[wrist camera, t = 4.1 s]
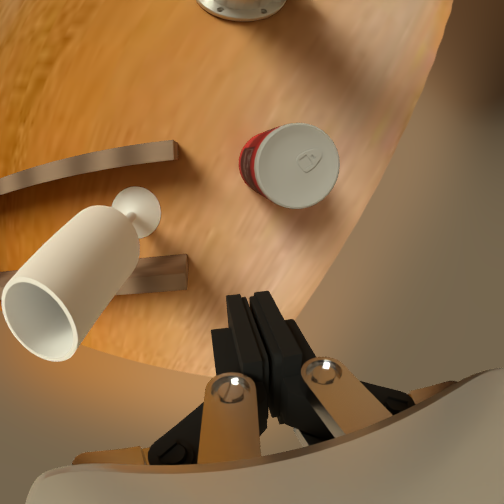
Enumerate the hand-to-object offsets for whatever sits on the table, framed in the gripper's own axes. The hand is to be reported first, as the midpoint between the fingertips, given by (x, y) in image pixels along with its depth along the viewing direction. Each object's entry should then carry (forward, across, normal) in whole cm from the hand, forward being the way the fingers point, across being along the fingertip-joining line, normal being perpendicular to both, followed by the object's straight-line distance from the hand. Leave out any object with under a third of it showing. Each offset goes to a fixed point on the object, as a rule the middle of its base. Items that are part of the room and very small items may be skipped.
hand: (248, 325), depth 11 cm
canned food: (+24, -7, -6) cm, 26 cm away
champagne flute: (+24, +10, -1) cm, 26 cm away
